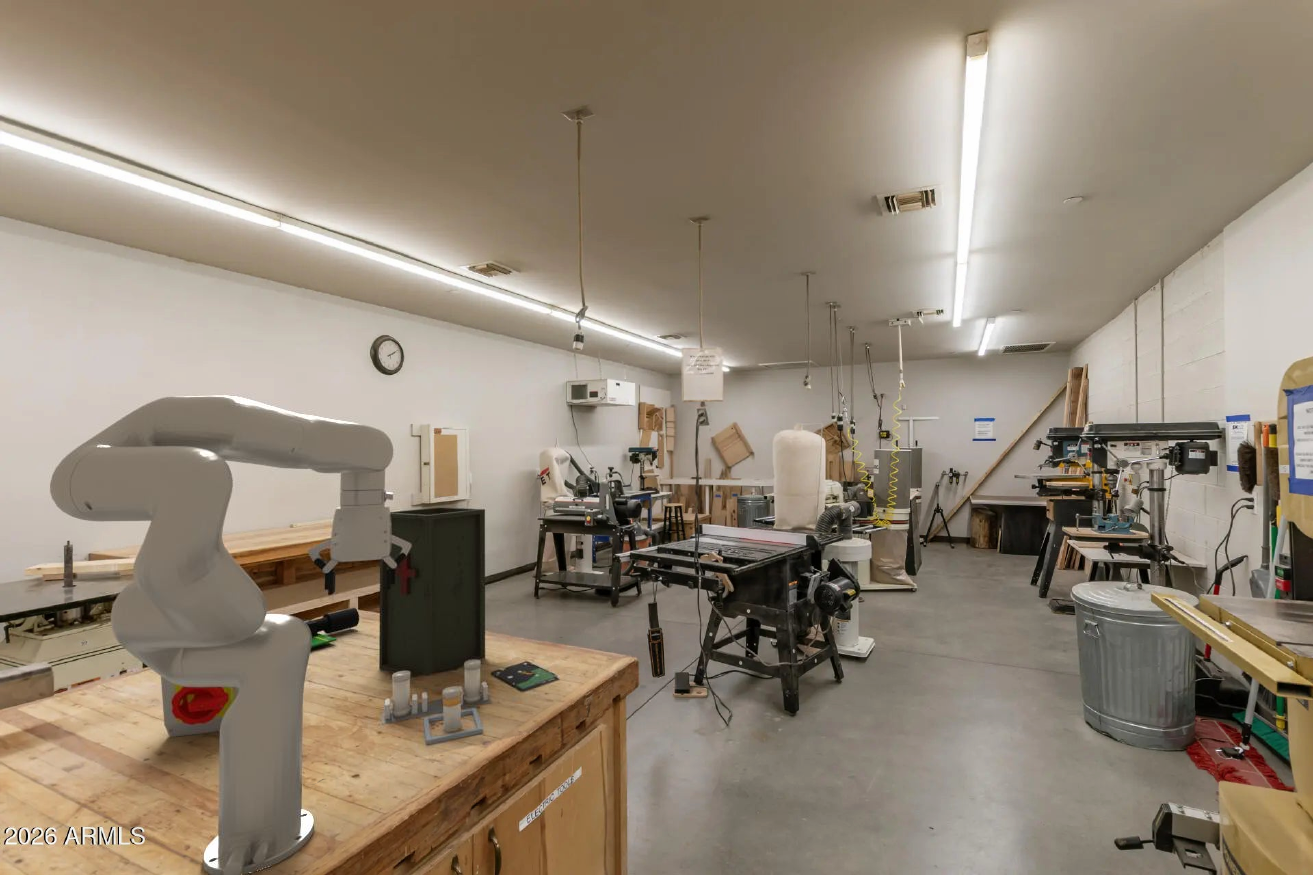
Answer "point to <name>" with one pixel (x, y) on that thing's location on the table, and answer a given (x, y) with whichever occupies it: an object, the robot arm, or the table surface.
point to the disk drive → (525, 676)
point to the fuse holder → (430, 706)
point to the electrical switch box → (194, 708)
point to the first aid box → (434, 592)
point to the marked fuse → (452, 708)
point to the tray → (452, 735)
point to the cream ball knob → (472, 681)
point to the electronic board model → (332, 625)
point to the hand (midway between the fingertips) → (360, 591)
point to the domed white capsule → (401, 693)
